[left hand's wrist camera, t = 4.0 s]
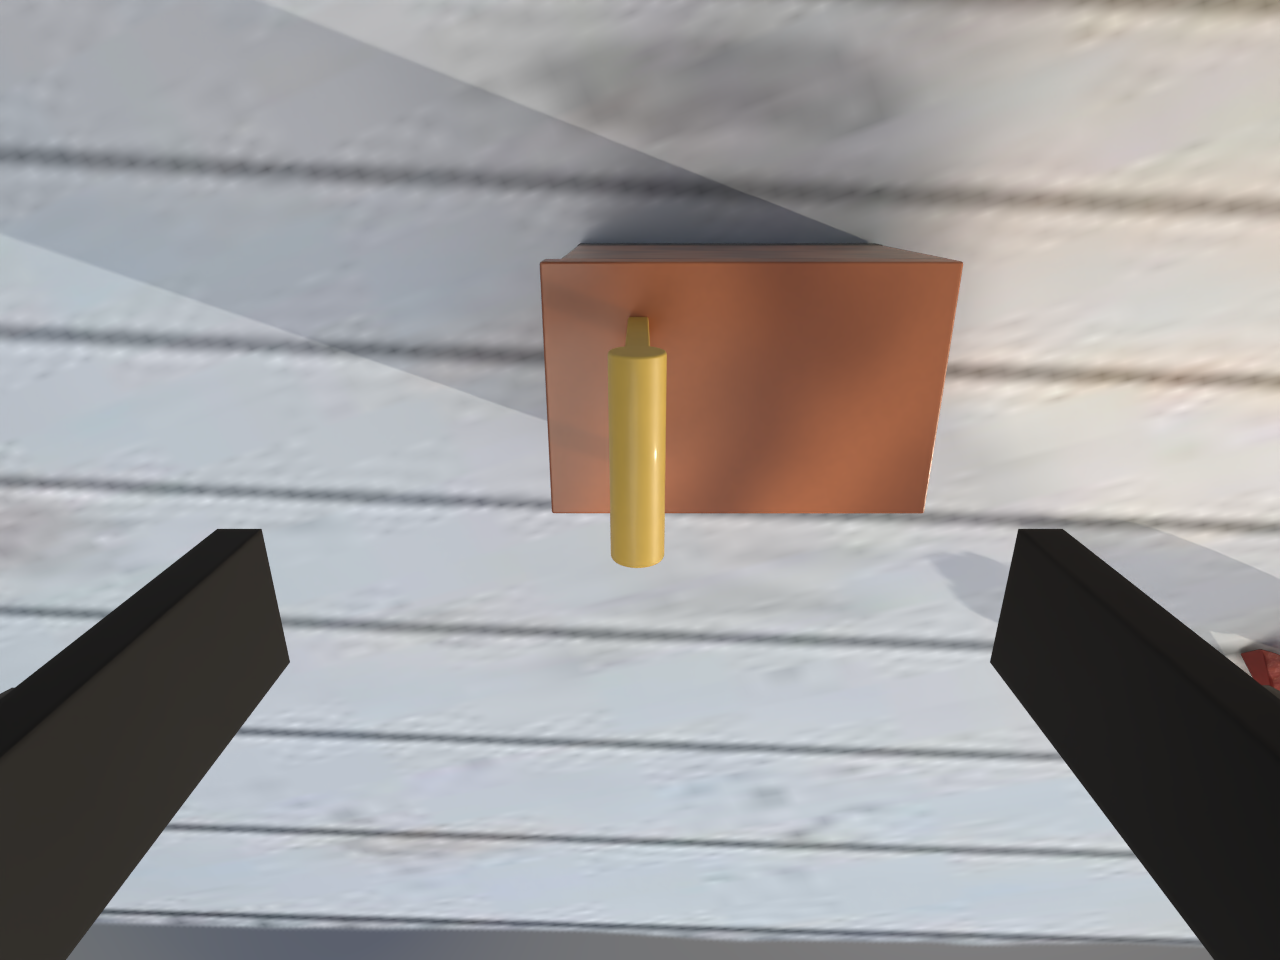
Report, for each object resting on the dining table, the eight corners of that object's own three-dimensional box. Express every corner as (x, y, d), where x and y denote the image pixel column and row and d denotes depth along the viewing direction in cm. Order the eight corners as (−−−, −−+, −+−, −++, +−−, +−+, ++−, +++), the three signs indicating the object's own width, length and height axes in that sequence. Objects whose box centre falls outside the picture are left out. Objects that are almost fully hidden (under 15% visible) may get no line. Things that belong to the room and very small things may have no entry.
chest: (585, 434, 37) (569, 501, 28) (579, 243, 33) (559, 258, 25) (853, 434, 37) (913, 501, 28) (875, 243, 33) (950, 258, 25)
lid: (555, 501, 28) (521, 620, 20) (543, 259, 25) (497, 287, 17) (913, 502, 28) (1020, 620, 20) (950, 259, 25) (1094, 287, 17)
